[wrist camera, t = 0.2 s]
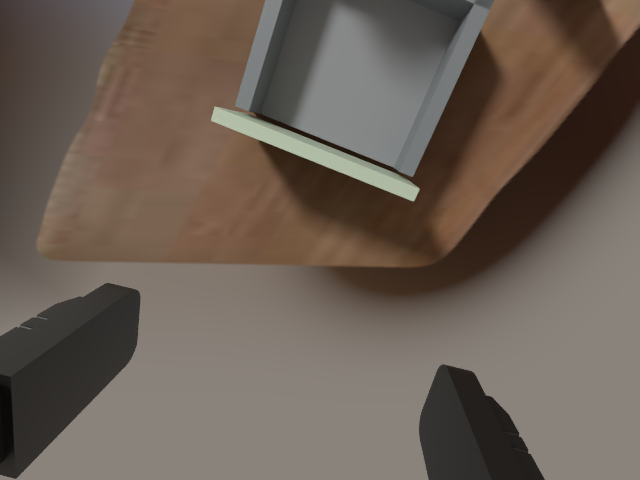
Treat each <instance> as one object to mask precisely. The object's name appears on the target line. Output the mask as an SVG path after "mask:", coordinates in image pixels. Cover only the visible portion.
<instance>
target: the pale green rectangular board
mask: <svg viewBox="0 0 640 480" xmlns="http://www.w3.org/2000/svg"><path fill="white" fill-rule="evenodd" d="M211 121H213V122H216V123H218V124H221V125H223V126H226V127H228V128H231V129H233V130H236V131H238V132H241V133H243V134H246V135H248V136H251V137H253V138H256V139H258V140H261V141H263V142H266V143H268V144H271V145H273V146H276V147H278V148H281V149H283V150H286V151H288V152H291V153H293V154H296V155H298V156H301V157H303V158H306V159H308V160H311V161H313V162H316V163H318V164H321V165H323V166H326V167H328V168H331V169H333V170H336V171H338V172H341V173H343V174H346V175H348V176H351V177H353V178H356V179H358V180H361V181H363V182H366V183H368V184H371V185H373V186H376V187H378V188H381V189H383V190H386V191H388V192H391V193H393V194H396V195H398V196H401V197H403V198H406V199H408V200H411V201H413V202H414V200H415V198H416V196H417V194H418V192H419V190H420V189H419V188H418V187H417V186H416V185H414V184H413V183H412V182H410V181H409V180H408V179H406V178H405V177H404V176H401V175H399V174H396V173H394V172H391V171H389V170H386V169H384V168H381V167H379V166H376V165H374V164H371V163H369V162H366V161H364V160H361V159H359V158H356V157H354V156H351V155H349V154H346V153H344V152H341V151H339V150H336V149H334V148H331V147H329V146H327V145H324V144H322V143H319V142H317V141H314V140H312V139H309V138H307V137H304V136H302V135H299V134H297V133H294V132H292V131H289V130H287V129H284V128H282V127H279V126H277V125H274V124H272V123H269V122H267V121H264V120H262V119H259V118H257V117H254V116H252V115H249V114H247V113H243V112H238V111H233V110H228V109H224V108H219V107H215V108H214V112H213V115H212V119H211Z"/></svg>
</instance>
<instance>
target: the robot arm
mask: <svg viewBox="0 0 640 480" xmlns="http://www.w3.org/2000/svg"><path fill="white" fill-rule="evenodd" d="M139 310H140V293H139V292H138V290H135V289H131V288H127V287H122V286H119V285H115V284H110V283H107V284H104V285H102V286H101V287H99V288H97V289H96V290H94V291H92V292H91V293H89V294H87V295H86V296H84V297H77V298H74V299H71V300H67V301H64V302H61V303H57V304H55V305H53V306H52V307H50V308H48V309H47V310H45V311H43V312H41V313H40V314H38V315H37V317H36V318H31V319H30V320H28V321H26V322H24V323H22V324H21V325H20V327H19V328H18V327H16V328H14V329H12V330H10V331H9V332H7V333H5V334H3V335H2V336H0V475H3V476H7V477H11V478H15V479H16V478H17V477H18V476H19V475H20V474H21V473H22V472H23V471H24V470H25V469H26V468H27V467H28V466H29V465H30V464H31V463H32V462H33V461H34V460H35V459H36V458H37V457H38V456H39V455H40V453H42V451H43V450H44V449H45V448H46V447H47V446H48V445H49V444H50V443H51V442H52V441H53V440H54V439H55V438H56V437H57V436H58V435H59V434H60V433H61V432H62V431H63V430H64V429H65V428H66V427H67V426H68V425H69V424H70V423H71V422H72V421H73V420H74V419H75V417H77V415H78V414H79V413H80V412H81V411H82V410H83V409H84V408H85V407H86V406H87V405H88V404H89V403H90V402H91V401H92V400H93V399H94V398H95V397H96V396H97V395H98V394H99V393H100V392H101V391H102V390H103V389H104V388H105V387H106V386H107V385H108V384H109V383H110V381H111V380H112V379H113V378H114V377H115V376H116V375H117V374H118V373H119V372H120V371H121V370H122V369H123V368H124V367H125V366H126V365H127V364H128V362H129V361H130V359H131V358H132V355H133V353H134V351H135V348H136V345H137V337H138V324H139ZM419 435H420V442H421V446H422V450H423V455H424V459H425V464H426V469H427V474H428V478H429V480H545V479H544V477H543V476H542V474H541V472H540V470H539V469H538V467H537V465H536V463H535V461H534V459H533V458H532V456H531V454H528V449H527V447H526V445H525V443H524V441H523V440H522V438H521V437H519V432H518V430H517V429H516V427H515V425H514V423H513V421H512V420H511V418H510V416H509V414H508V413H507V412H506V411H505V410H504V409H503V408H502V407H501V406H500V405H499V404H498V403H497V402H496V401H495V400H494V399H493V398H492V397H490V396H486V395H485V393H484V391H483V389H482V387H481V385H480V383H479V381H478V379H477V377H476V376H475V374H474V373H473V372H472V371H469V370H464V369H460V368H456V367H452V366H447V365H441V366H440V367H439V368H438V370H437V372H436V375H435V378H434V380H433V383H432V386H431V388H430V391H429V394H428V396H427V399H426V402H425V404H424V407H423V409H422V412H421V417H420V425H419Z"/></svg>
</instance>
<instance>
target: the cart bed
mask: <svg viewBox="0 0 640 480" xmlns="http://www.w3.org/2000/svg"><path fill="white" fill-rule="evenodd" d="M493 2H494V0H266V1H265V4H264V8H263V11H262V15H261V18H260V22H259V25H258V28H257V32H256V35H255V39H254V42H253V46H252V49H251V52H250V56H249V59H248V63H247V66H246V70H245V73H244V76H243V80H242V83H241V87H240V90H239V94H238V97H237V100H236V104H235V106H237V107H239V108H242V109H244V110H247V111H250V112H254V113H258V114H262V115H264V116H267V117H269V118H272V119H274V120H277V121H279V122H282V123H284V124H287V125H289V126H292V127H294V128H296V129H299V130H301V131H304V132H306V133H309V134H311V135H314V136H316V137H319V138H321V139H324V140H326V141H329V142H331V143H334V144H336V145H339V146H341V147H344V148H346V149H349V150H351V151H354V152H356V153H359V154H361V155H364V156H366V157H369V158H371V159H374V160H376V161H379V162H381V163H384V164H386V165H388V166H391V167H393V168H395V169H396V170H398V171H399V172H401V173H404V174H406V175H409V176H411V177H413V175H414V173H415V171H416V169H417V167H418V165H419V162H420V160H421V158H422V156H423V154H424V152H425V149H426V147H427V145H428V143H429V141H430V139H431V136H432V134H433V132H434V130H435V128H436V126H437V123H438V121H439V119H440V117H441V115H442V113H443V110H444V108H445V106H446V104H447V102H448V100H449V97H450V95H451V93H452V91H453V89H454V86H455V84H456V82H457V80H458V78H459V76H460V73H461V71H462V69H463V67H464V65H465V63H466V60H467V58H468V56H469V54H470V52H471V50H472V47H473V45H474V43H475V41H476V39H477V37H478V34H479V32H480V30H481V28H482V26H483V24H484V21H485V19H486V17H487V15H488V13H489V10H490V8H491V6H492V4H493Z"/></svg>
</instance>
